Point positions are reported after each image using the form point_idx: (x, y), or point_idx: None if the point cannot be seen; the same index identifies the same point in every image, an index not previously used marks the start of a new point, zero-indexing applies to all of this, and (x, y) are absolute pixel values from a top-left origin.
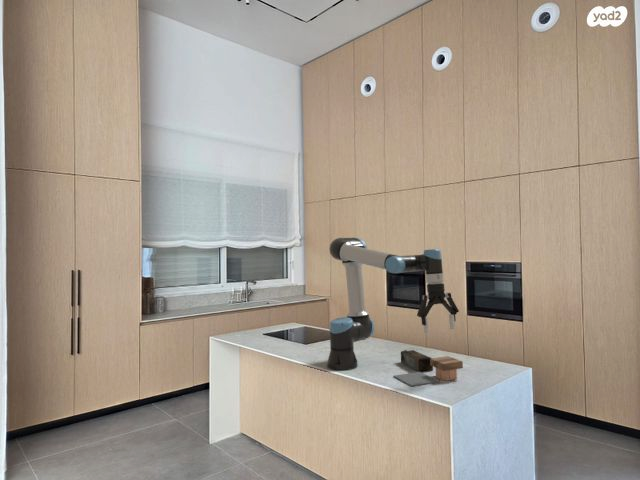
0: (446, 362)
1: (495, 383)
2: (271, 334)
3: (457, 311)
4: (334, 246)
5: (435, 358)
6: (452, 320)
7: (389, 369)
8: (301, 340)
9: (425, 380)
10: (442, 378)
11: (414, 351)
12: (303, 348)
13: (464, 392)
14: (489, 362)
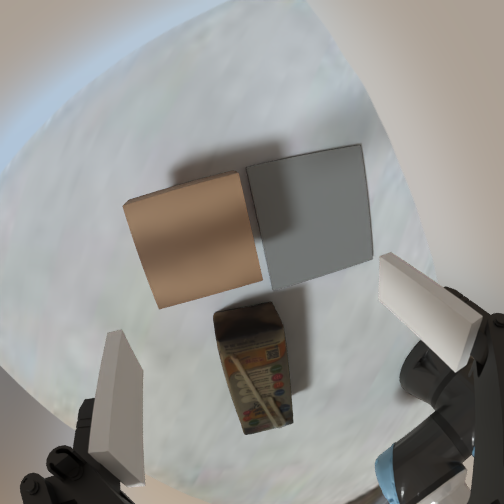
0: (212, 197)
1: (47, 128)
2: None
3: (34, 481)
4: None
5: (236, 278)
6: (117, 398)
7: (347, 334)
8: None
9: (296, 184)
10: None
11: (249, 423)
12: None
13: (204, 44)
14: (10, 359)
